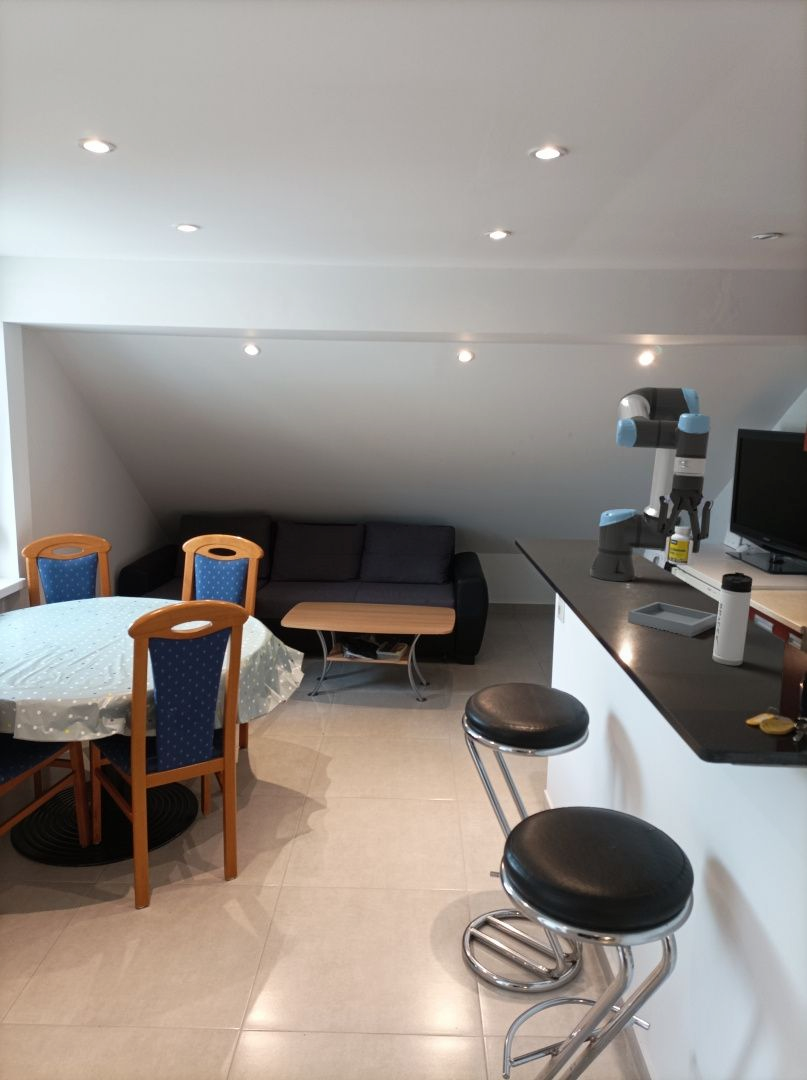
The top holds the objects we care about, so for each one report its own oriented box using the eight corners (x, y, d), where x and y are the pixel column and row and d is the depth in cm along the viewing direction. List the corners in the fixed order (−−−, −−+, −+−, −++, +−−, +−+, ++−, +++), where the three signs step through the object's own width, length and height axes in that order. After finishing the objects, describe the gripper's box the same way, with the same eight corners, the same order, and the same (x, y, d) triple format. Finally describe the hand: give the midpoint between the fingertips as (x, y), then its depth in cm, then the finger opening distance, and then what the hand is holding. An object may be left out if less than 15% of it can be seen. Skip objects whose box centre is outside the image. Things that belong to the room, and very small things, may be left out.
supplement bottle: (664, 562, 197) (668, 526, 195) (674, 560, 200) (678, 524, 199) (684, 566, 193) (688, 529, 191) (693, 564, 197) (697, 527, 195)
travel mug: (743, 660, 170) (754, 574, 167) (740, 667, 165) (751, 579, 162) (714, 654, 174) (724, 570, 170) (710, 662, 168) (720, 575, 165)
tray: (655, 612, 211) (656, 601, 211) (716, 625, 200) (717, 614, 199) (627, 622, 199) (628, 611, 198) (690, 637, 187) (692, 625, 187)
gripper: (648, 471, 196) (639, 558, 200) (719, 478, 184) (708, 570, 188) (660, 471, 202) (651, 555, 205) (730, 477, 189) (719, 567, 193)
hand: (679, 562), depth 196 cm, fingers closed on supplement bottle, 5 cm apart
